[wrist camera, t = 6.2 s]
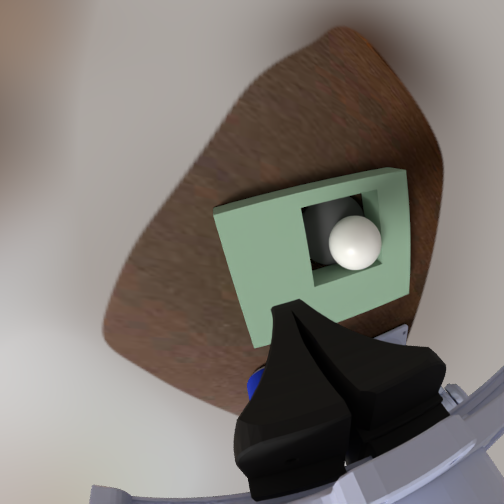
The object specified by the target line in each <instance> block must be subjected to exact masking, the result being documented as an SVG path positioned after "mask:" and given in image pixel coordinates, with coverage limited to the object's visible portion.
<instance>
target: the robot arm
mask: <svg viewBox="0 0 504 504" xmlns="http://www.w3.org/2000/svg"><path fill="white" fill-rule="evenodd" d="M271 313H272V317H273V328H272V339H271V345H270V350H269V355H268V358H267V362H266V365H265V368H264V371H263V374H262V376H261V379H260V381H259V383H258V386H257V388H256V389H255V391H254V393H253V395H252V397H251V399H250V401H249V403H248V404H247V406H246V407H245V409H244V410H243V412H242V413H241V415H240V416H239V417H238V419H237V423H236V428H235V434H234V456H235V462H236V465H237V466H238V467H239V469H240V470H241V471H242V472H243V473H244V474H245V476H246V477H247V478H248V482H249V488H250V492H247V493H240V494H233V495H224V496H215V497H214V496H213V497H198V498H152V497H150V498H149V497H137V496H131V495H130V494H128V493H127V492H125V491H123V490H120V489H117V488H112V487H105V486H99V485H92V489H91V495H90V502H89V504H504V478H503V476H502V475H501V473H500V472H499V470H498V469H497V467H496V466H495V464H494V463H493V461H492V460H491V458H490V457H489V455H488V454H487V453H486V450H487V449H489V448H490V447H491V446H492V445H493V444H494V443H495V442H496V441H497V440H498V439H499V438H500V437H501V436H502V435H503V434H504V366H503V367H502V368H501V369H500V370H499V371H498V372H497V373H495V374H494V375H493V376H492V377H491V378H490V379H489V380H488V381H487V382H485V383H484V384H483V385H482V386H481V387H480V388H478V389H477V390H476V391H475V392H474V393H472V394H471V395H470V396H469V397H468V395H467V394H466V393H465V392H464V391H463V390H462V389H461V388H460V387H459V386H458V385H457V384H447V386H446V387H445V390H446V391H447V392H445V390H444V389H443V388H442V386H441V384H442V382H443V380H444V377H445V373H446V365H445V363H444V362H443V361H442V360H441V359H440V358H439V357H438V355H437V354H436V353H435V352H434V351H432V350H431V349H430V348H429V347H418V346H407V345H406V339H407V332H408V326H407V325H406V324H404V325H402V326H399V327H397V328H395V329H393V330H391V331H389V332H386V333H384V334H382V335H380V336H377V337H375V338H370V337H367V336H364V335H362V334H359V333H357V332H354V331H352V330H349V329H347V328H345V327H343V326H341V325H339V324H337V323H336V322H334V321H332V320H330V319H329V318H327V317H326V316H324V315H322V314H321V313H319V312H318V311H316V310H315V309H313V308H312V307H311V306H309V305H308V304H306V303H305V302H304V301H302V300H301V299H296V300H293V301H290V302H286V303H283V304H279V305H276V306H273V307H272V308H271ZM345 462H346V465H347V466H344V464H345Z"/></svg>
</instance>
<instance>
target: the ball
mask: <svg viewBox="0 0 504 504" xmlns="http://www.w3.org/2000/svg"><path fill="white" fill-rule="evenodd" d="M381 245H382V241H381V235H380V232H379V230H378V228H377V227H376V226H375V224H374V223H373V222H371V221H370V220H369V219H367V218H365V217H362V216H348V217H345V218H343V219H341V220H340V221H339V222H337V224H336V225H335V226H334V227H333V229H332V231H331V233H330V237H329V248H330V252H331V254H332V256H333V258H334V259H335V261H336V262H337V263H338V264H339V265H341V266H342V267H344V268H347V269H350V270H361V269H364V268H367V267H368V266H370V265H371V264H373V263H374V262H375V260H376V259H377V258H378V256H379V254H380V251H381Z"/></svg>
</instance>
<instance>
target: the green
mask: <svg viewBox="0 0 504 504" xmlns="http://www.w3.org/2000/svg"><path fill="white" fill-rule="evenodd" d="M359 193H361V194H362V202H363V210H364V213H363V211H362V209H361V207H360V205H359V204H358V203H357V202H356V201H355V200H354V199H352V198H351V197H349V196H351V195H355V194H359ZM306 206H308V207H307V208H306V209H305V211H304V213H303V215H302V212H301V208H302V207H306ZM213 216H214V219H215V222H216V226H217V229H218V233H219V236H220V240H221V243H222V246H223V250H224V253H225V256H226V260H227V263H228V266H229V269H230V273H231V276H232V279H233V283H234V286H235V289H236V292H237V295H238V299H239V302H240V305H241V308H242V311H243V314H244V317H245V321H246V324H247V327H248V330H249V333H250V336H251V339H252V342H253V345H254V348H258V347H261V346H265V345H269V344H271V339H272V328H273V317H272V313H271V308H272V307H273V306H276V305H279V304H283V303H286V302H290V301H293V300H296V299H301V300H302V301H304V302H305V303H306V304H308V305H309V306H311V307H312V308H313V309H315V310H316V311H318V312H319V313H321V314H322V315H324V316H326V317H327V318H329V319H330V320H332V321H334V322H336V323H337V322H340V321H342V320H345V319H348V318H350V317H353V316H356V315H358V314H361V313H363V312H366V311H368V310H371V309H373V308H376V307H378V306H381V305H383V304H386V303H388V302H390V301H393V300H395V299H397V298H400V297H402V296H404V295H406V294H409V281H410V214H409V198H408V187H407V177H406V170H403V169H396V168H390V167H386V168H380V169H375V170H370V171H365V172H360V173H355V174H350V175H345V176H340V177H335V178H331V179H326V180H321V181H317V182H312V183H308V184H304V185H299V186H295V187H291V188H287V189H283V190H279V191H275V192H271V193H267V194H263V195H259V196H255V197H251V198H247V199H244V200H240V201H236V202H232V203H229V204H225V205H222V206H218V207H215V208H213ZM348 216H362V217H365V218H367V219H369V220H370V221H371V222H373V223H374V224H375V226H376V227H377V228H378V230H379V232H380V235H381V241H382V245H381V251H380V254H379V256H378V258H377V259H376V260H375V262H374V263H373V264H371V265H370V266H368V267H367V268H364V269H361V270H350V269H347V268H344V267H342V266H341V265H339V264H338V263H337V262H336V261H335V259H334V258H333V256H332V254H331V252H330V248H329V237H330V233H331V231H332V229H333V227H334V226H335V225H336V224H337V222H339V221H340V220H341V219H343V218H345V217H348ZM310 258H311V259H312V260H314V261H316V262H318V263H321V264H326V265H329V266H326V267H322V268H319V269H316V270H313V271H312V268H311V262H310Z"/></svg>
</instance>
